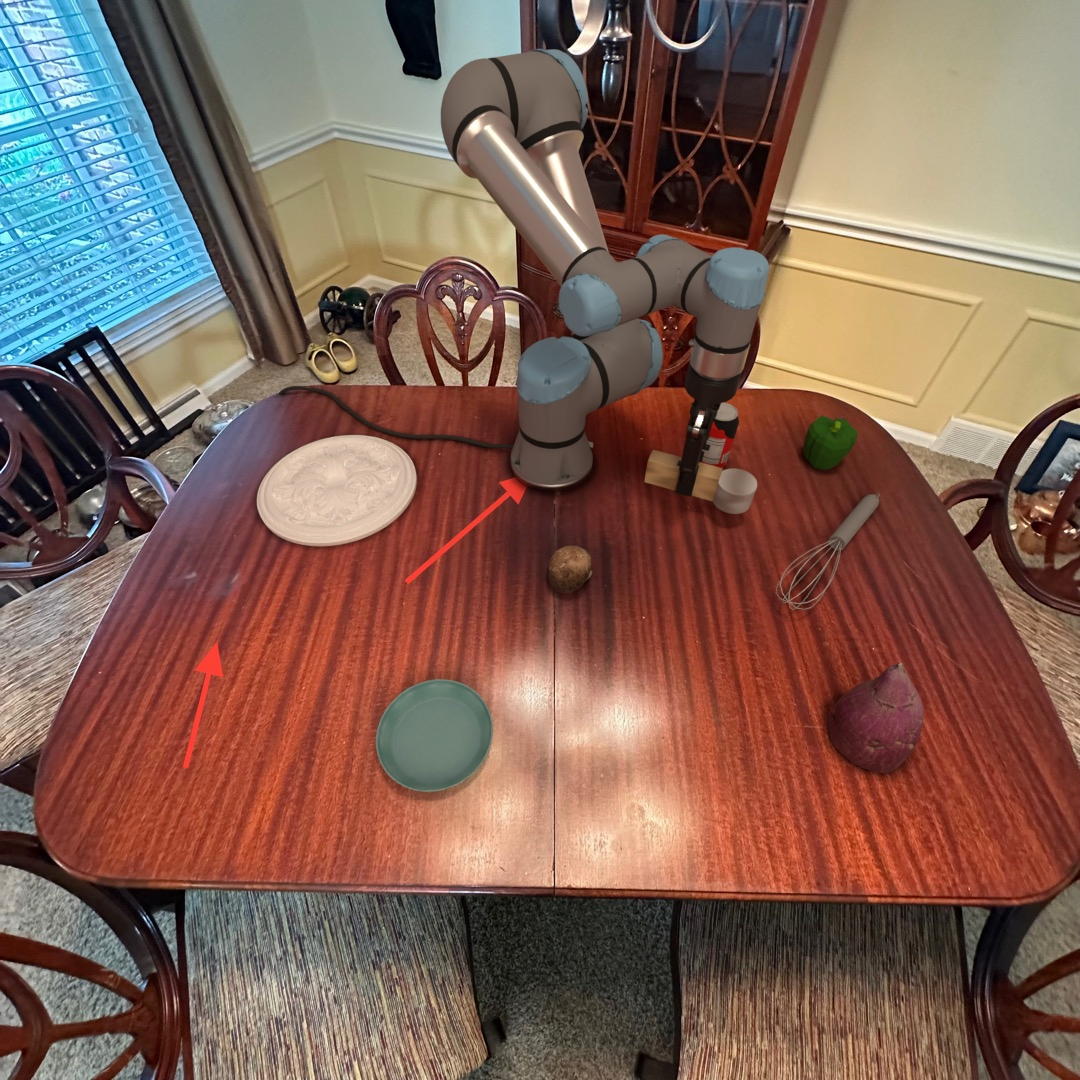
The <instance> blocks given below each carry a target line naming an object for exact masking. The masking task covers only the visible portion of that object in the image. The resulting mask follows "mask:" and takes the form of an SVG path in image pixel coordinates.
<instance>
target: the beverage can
mask: <svg viewBox="0 0 1080 1080" xmlns="http://www.w3.org/2000/svg"><path fill="white" fill-rule="evenodd" d="M738 415H739V411H738V409H737V408H736V406H734V405H733V404H731V403H728V402H724V403H721V405H720V408H719V410H718V413H717V416H716V418H715V421H714V422H713V424H712V428H711V431H710V434H709V436H710V437H709V439H708V440H707V443H706V444H709V445H711V446H710V449H709V451H706V450H702V451H703V452H704V456H703V460H702V463H705V464H708V465H712V466H716V467H720V468H723V469H724V468H725V466H726V465H727V464H728V460H729V456H730V454H731V451H732V447H733V444H734V441H735V437H736V434H737V431H738V428H739V424H740V419H739V416H738Z"/></svg>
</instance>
